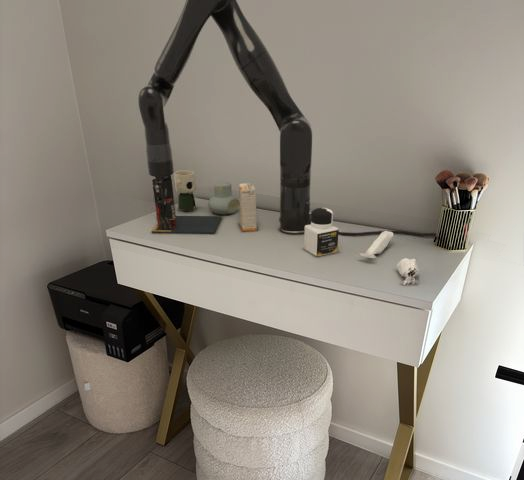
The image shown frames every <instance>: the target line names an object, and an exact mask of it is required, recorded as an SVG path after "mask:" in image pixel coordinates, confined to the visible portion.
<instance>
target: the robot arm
mask: <svg viewBox="0 0 524 480" xmlns="http://www.w3.org/2000/svg"><path fill="white" fill-rule="evenodd" d="M210 17H211V18H212V20H213V21H214V22H215V24H216V26H217V27H218V29H219V30H220V32H221V34H222V35H223V37H224V40H225V43H226V45H227V47H228V50H229V52H230V54H231V57H232V59H233V61H234V63H235V65H236V67H237V69H238V71H239V72H240V74H241V76H242V77H243V79H244V80H245V83H246V84H247V85H248V86H249V88H250V89H251V91H252V92H253V93H254V94H255V96H256V97H257V98H258V99H259V101H260V102H262V104H263V105H264V106H265V107H266V108H267V110H268V111H269V113H270V116H271V117H272V119H273V121H274V122H275V124H276V126H277V128H278V129H277V130H278V131H279V133H280V134H279V168H280V169H279V170H280V171H279V183H280V184H279V191H280V192H279V219H278V223H279V231H281V232H282V233H284V234H289V235H299V234H304V233H305V225H311V177H312V159H313V158H312V156H313V155H312V153H313V128H312V125H311V123H310V122H309V120H308V118H306V117H305V115H304V114H303V112H302V111H301V109H300V108H299V107H298V105H297V104H296V102H295V101H294V99H293V98H292V96H291V95H290V92H289V90H288V88H287V86H286V84H285V81H284V79H283V77H282V75H281V73H280V71H279V68H278V67H277V65H276V63H275V61H274V59H273V58H272V56H271V54H270V52H269V50H268V48H267V47H266V46H265V44H264V43H263V41H262V39H261V38H260V36H259V34H258V33H257V32H256V30H255V29H254V28H253V26H252V25H251V23H249V21H248V19H247V18H246V16H245V14H244V13H243V11H242V9H241V7H240V5H239V3H238V0H185V3H184V5H183V7H182V10H181V13H180V15H179V17H178V20H177V21H176V24H175V26H174V28H173V30H172V32H171V34H170V36H169V37H168V39H167V41H166V43H165V45H164V47H163V48H162V50H161V53H160V55H159V57H158V58H157V60H156V62H155V65H154V69H153V70H154V71H153V73H152V75H151V77H150V79H149V81H148V83H147V85H145V86H144V87H142V88H141V89H140V91H139V93H138V98H137V99H138V103H137V104H138V109H139V113H140V117H141V120H142V124H143V127H144V129H143V130H144V138H145V152H146V153H145V154H146V161H147V169H148V170H147V171H148V174H149V176H150V177H154V179H155V178H156V185H153V184H152V189H153V190H152V191H153V198H154V197H155V199H154V204H155V203H156V204H157V205H158V206H159V215H160V217H166V216H167V210H166V197H167V189H166V190H165V194H163V191H162V190H164V181H165V180H166V179H167V178H171V179H172V175H174V172H175V170H174V161H173V151H172V147H171V141H170V129H169V126H168V123H167V121H166V119H165V118H166V117H165V112H164V111H165V110H164V108H165V106H166V105H167V103H168V101H169V100H170V98H171V95H172V93H173V90H174V88H175V86H176V83H177V82H178V80H179V79H180V77H181V75H182V73H183V71H184V69H185V67H186V66H187V64H188V63H189V62H188V61H189V60H190V58H191V55H192V53H193V51H194V47H195V45H196V43H197V40H198V38H199V36H200V34H201V32H202V30H203V28H204V26H205V25H206V23H207V22H208V20H209V19H210ZM159 197H160V198H161V200H159ZM384 231H385V230H375V231H374V230H373V231H363V232H362V231H361V232H349V231H348V232H347V231H346V232H345V231H339V233H338V235H340V236H342V235H343V236H365V235H366V236H367V235H380V234H381V233H382V232H384ZM388 231H389V232H393V234H404V235H410V236H417V237H418V236H419V237H428V236H429V237H430V236H434V237H437V236H436V233H437V232H415V231H408V230H394V229H393V230H392V229H390V230H389V229H388Z"/></svg>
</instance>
